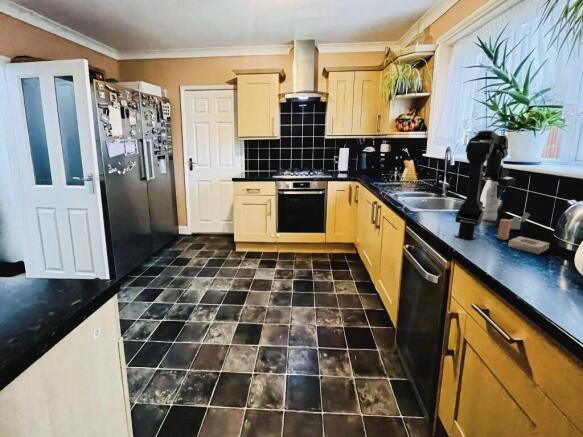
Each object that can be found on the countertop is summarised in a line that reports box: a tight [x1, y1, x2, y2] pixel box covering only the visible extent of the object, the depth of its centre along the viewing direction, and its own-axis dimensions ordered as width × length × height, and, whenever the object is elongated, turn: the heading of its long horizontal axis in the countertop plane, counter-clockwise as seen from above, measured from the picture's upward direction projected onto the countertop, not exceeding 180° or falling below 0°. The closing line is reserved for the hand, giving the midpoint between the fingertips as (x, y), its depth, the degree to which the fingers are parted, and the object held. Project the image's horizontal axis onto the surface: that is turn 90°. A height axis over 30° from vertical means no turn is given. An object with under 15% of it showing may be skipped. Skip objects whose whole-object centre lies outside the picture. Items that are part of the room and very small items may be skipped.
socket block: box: [507, 236, 550, 255], centre depth 123 cm, size 10×10×2 cm
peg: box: [496, 218, 512, 241], centre depth 134 cm, size 3×3×8 cm
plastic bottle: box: [482, 181, 501, 222], centre depth 163 cm, size 6×7×20 cm
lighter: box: [509, 212, 530, 230], centre depth 149 cm, size 7×2×8 cm, turn 78°
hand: (488, 196), depth 150 cm, fingers open, 9 cm apart
